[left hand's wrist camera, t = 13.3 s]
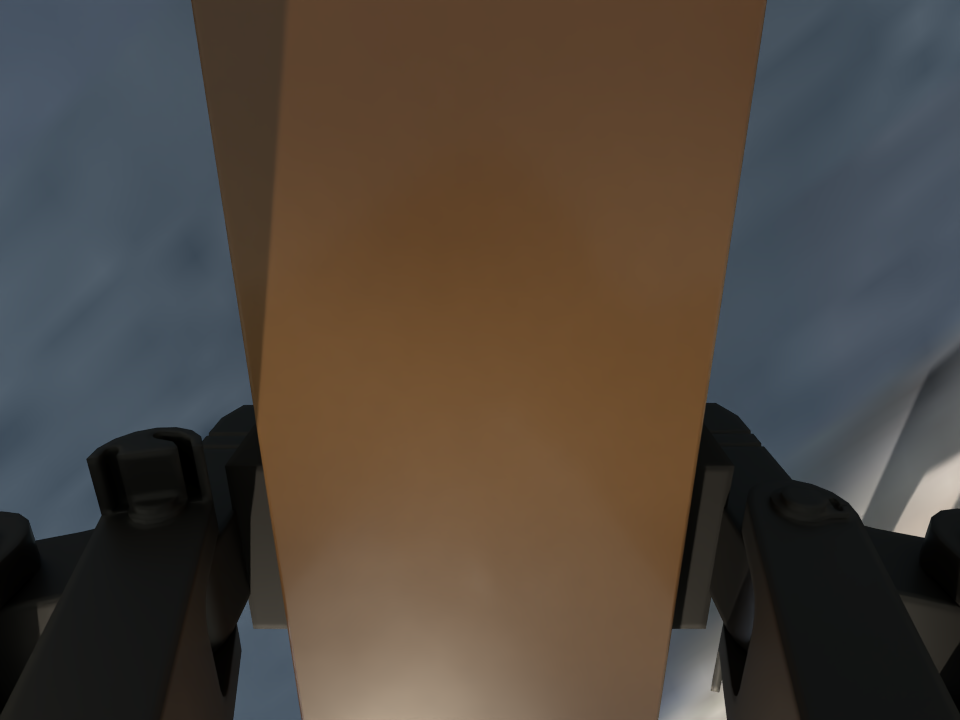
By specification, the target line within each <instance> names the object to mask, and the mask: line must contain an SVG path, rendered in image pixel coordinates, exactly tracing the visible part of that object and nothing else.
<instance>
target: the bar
mask: <svg viewBox="0 0 960 720" xmlns="http://www.w3.org/2000/svg"><path fill="white" fill-rule="evenodd" d="M191 3H192V9H193V16H194V22H195V29H196V35H197V42H198V48H199V55H200V61H201V68H202V74H203V81H204V87H205V94H206V100H207V107H208V113H209V120H210V126H211V133H212V139H213V146H214V152H215V159H216V165H217V172H218V178H219V185H220V191H221V198H222V204H223V211H224V218H225V224H226V231H227V237H228V244H229V250H230V257H231V263H232V270H233V276H234V283H235V289H236V296H237V302H238V309H239V315H240V322H241V328H242V335H243V341H244V348H245V354H246V361H247V367H248V374H249V380H250V387H251V393H252V400H253V406H254V413H255V419H256V426H257V432H258V439H259V445H260V452H261V458H262V465H263V471H264V478H265V484H266V491H267V497H268V504H269V510H270V517H271V523H272V530H273V536H274V543H275V549H276V556H277V562H278V569H279V575H280V582H281V588H282V595H283V601H284V608H285V614H286V621H287V627H288V634H289V640H290V647H291V653H292V660H293V666H294V673H295V679H296V686H297V692H298V699H299V705H300V712H301V718H302V720H658V717H659V710H660V704H661V697H662V691H663V684H664V677H665V671H666V664H667V658H668V651H669V644H670V638H671V631H672V625H673V618H674V611H675V605H676V598H677V591H678V585H679V578H680V572H681V565H682V558H683V552H684V545H685V539H686V532H687V525H688V519H689V512H690V506H691V499H692V492H693V486H694V479H695V472H696V466H697V459H698V453H699V446H700V439H701V433H702V426H703V420H704V413H705V406H706V400H707V393H708V387H709V380H710V373H711V367H712V360H713V353H714V347H715V340H716V334H717V327H718V320H719V314H720V307H721V301H722V294H723V287H724V281H725V274H726V268H727V261H728V254H729V248H730V241H731V234H732V228H733V221H734V215H735V208H736V201H737V195H738V188H739V182H740V175H741V168H742V162H743V155H744V149H745V142H746V135H747V129H748V122H749V116H750V109H751V102H752V96H753V89H754V82H755V76H756V69H757V63H758V56H759V49H760V43H761V36H762V30H763V23H764V16H765V10H766V3H767V0H191Z"/></svg>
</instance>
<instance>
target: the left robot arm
mask: <svg viewBox="0 0 960 720" xmlns="http://www.w3.org/2000/svg"><path fill="white" fill-rule="evenodd" d="M87 463H88V467H89V470H90V474H91V478H92V481H93V485H94V489H95V492H96V496H97V500H98V503H99V507H100V511H101V514H102V516H101V518H100V520H99V522H98V524H97V526H96V528H95V529H92V530H88V531H84V532H79V533H73V534H68V535H63V536H58V537H52V538H47V539H42V540H36V541H35V538H34V535H33V532H32V529H31V526H30V523H29V520H28V519H26V518H25V517H23V516H22V515H20V514H18V513H10V512H2V511H1V512H0V720H233V717H234V709H235V700H236V692H237V684H238V675H239V667H240V659H241V644H240V638H239V633H238V627H237V622H238V620H239V617H240V615H241V613H242V611H243V609H244V607H245V605H246V603H247V601H248V600H249V605H250V611H251V617H252V622H253V628H254V629H288V627H287V621H286V614H285V608H284V601H283V595H282V588H281V582H280V575H279V569H278V562H277V556H276V549H275V543H274V536H273V530H272V523H271V517H270V510H269V504H268V497H267V491H266V484H265V478H264V471H263V465H262V458H261V452H260V445H259V439H258V432H257V426H256V419H255V413H254V406H253V405H243V406H241V407H240V408H238V409H236V410H235V411H233V412H231V413H229V414H228V415H226V416H224V417H223V418H221V419H220V421H219V422H218V423H217V424H216V425H215V427H214V428H213V429H212V430H211V431H210V432H209V436H206V437H205V438H204V440H203V441H202V438H201V436H200V435H198V434H197V433H195V432H194V431H192V430H188V429H183V428H178V427H168V428H153V429H148V430H142V431H137V432H133V433H130V434H128V435H125V436H122V437H119V438H116V439H114V440H112V441H110V442H108V443H106V444H104V445H103V446H101V447H99V448H97V449H96V450H95V451H94V452H93V453H92V454H91V455H90V456H89V457H88V458H87ZM711 597H712V599H713V601H714V603H715V605H716V607H717V609H718V612H719V614H720V616H721V618H722V620H723V627H722V633H721V638H720V643H719V648H718V654H717V659H716V664H715V669H714V675H713V680H712V687H711V691H715V692H719V691H720V686H721V681H722V682H723V690H724V699H725V707H726V715H727V720H960V509H950V510H942V511H940V512H938V513H937V514H935V515H934V516H933V517H931V520H930V523H929V526H928V529H927V532H926V535H925V538H923V537H917V536H912V535H907V534H901V533H896V532H891V531H885V530H880V529H875V528H871V527H867V526H864V525H863V523H862V521H861V519H860V517H859V515H858V514H857V512H856V511H855V510H854V509H853V508H852V506H851V505H850V504H849V503H848V502H846V501H845V500H843V499H842V498H840V497H839V496H837V495H836V494H834V493H833V492H830V491H828V490H825V489H823V488H820V487H818V486H815V485H813V484H809V483H804V482H800V481H795V480H792V479H791V478H790V477H789V476H788V474H787V473H786V472H785V471H784V470H783V468H782V467H781V466H780V465H779V464H778V463H777V461H776V460H775V459H774V458H773V457H772V455H771V454H770V453H769V452H768V451H767V450H766V448H765V447H761V442H760V441H759V440H758V439H757V438H756V437H755V435H754V434H751V431H750V430H749V428H748V427H747V426H746V425H745V424H744V422H743V421H742V420H741V419H740V418H739V417H738V416H737V415H736V414H734V413H732V412H730V411H729V410H727V409H725V408H723V407H722V406H720V405H718V404H717V403H706V406H705V413H704V420H703V426H702V433H701V439H700V446H699V453H698V459H697V466H696V472H695V479H694V486H693V492H692V499H691V506H690V512H689V519H688V525H687V532H686V539H685V545H684V552H683V558H682V565H681V572H680V578H679V585H678V591H677V598H676V605H675V611H674V618H673V625H672V629H706V624H707V618H708V613H709V607H710V601H711Z"/></svg>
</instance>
